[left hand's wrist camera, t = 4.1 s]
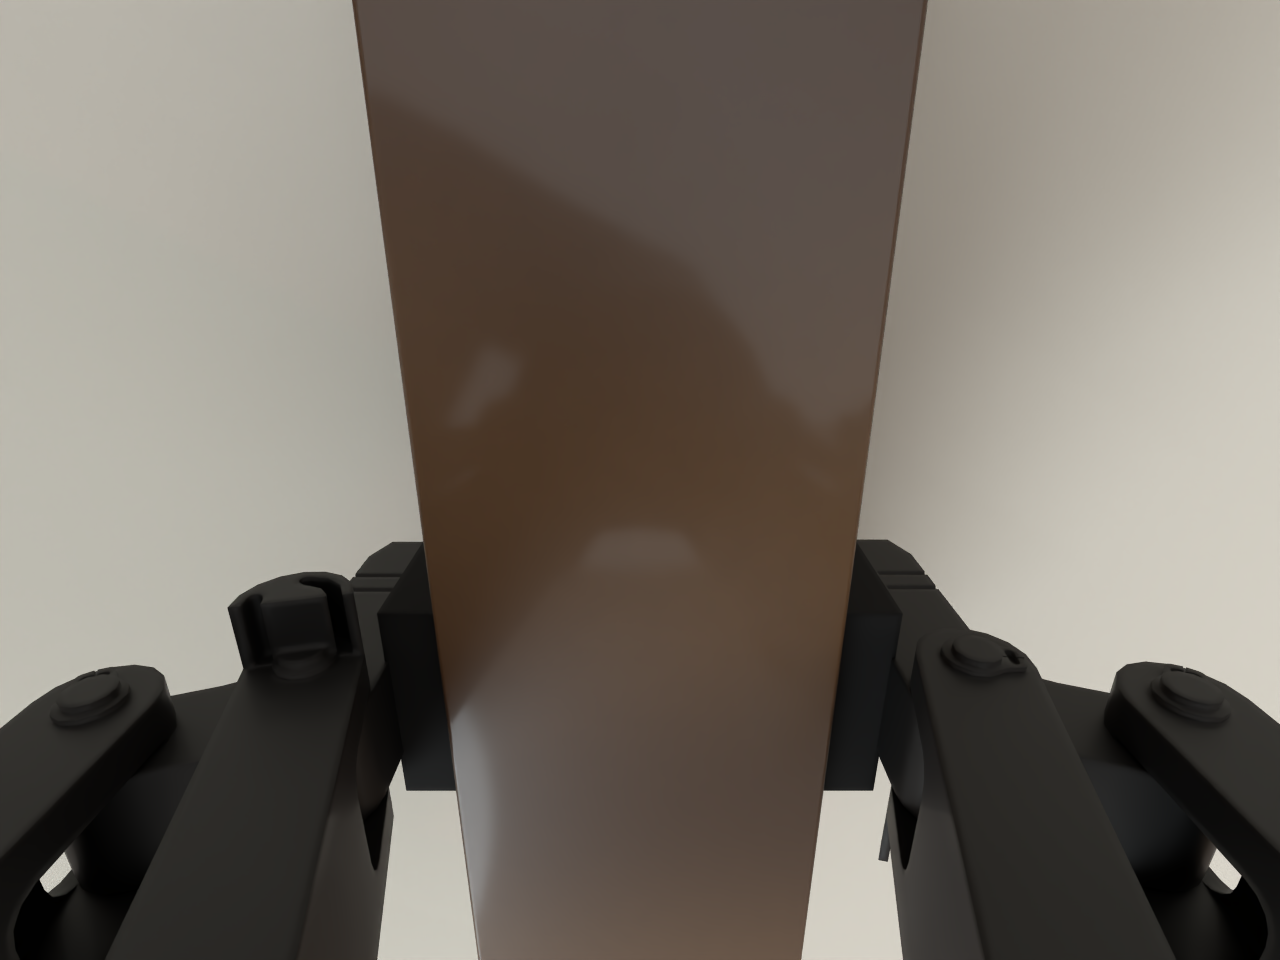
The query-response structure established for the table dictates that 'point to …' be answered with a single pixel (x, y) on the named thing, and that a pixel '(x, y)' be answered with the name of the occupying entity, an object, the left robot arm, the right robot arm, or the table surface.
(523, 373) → the beam
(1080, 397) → the table surface
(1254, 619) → the table surface
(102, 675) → the left robot arm
